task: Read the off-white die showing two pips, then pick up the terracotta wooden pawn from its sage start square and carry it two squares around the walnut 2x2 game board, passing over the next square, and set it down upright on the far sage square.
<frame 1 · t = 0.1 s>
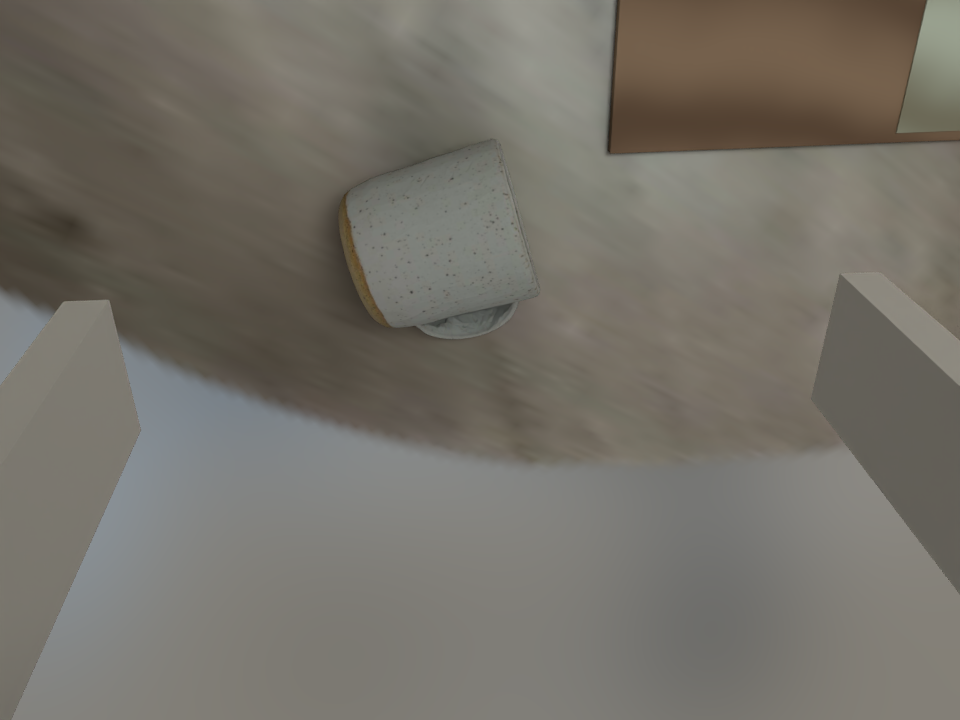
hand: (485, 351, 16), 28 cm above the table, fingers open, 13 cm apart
ceramic mug: (451, 232, 45), on the table
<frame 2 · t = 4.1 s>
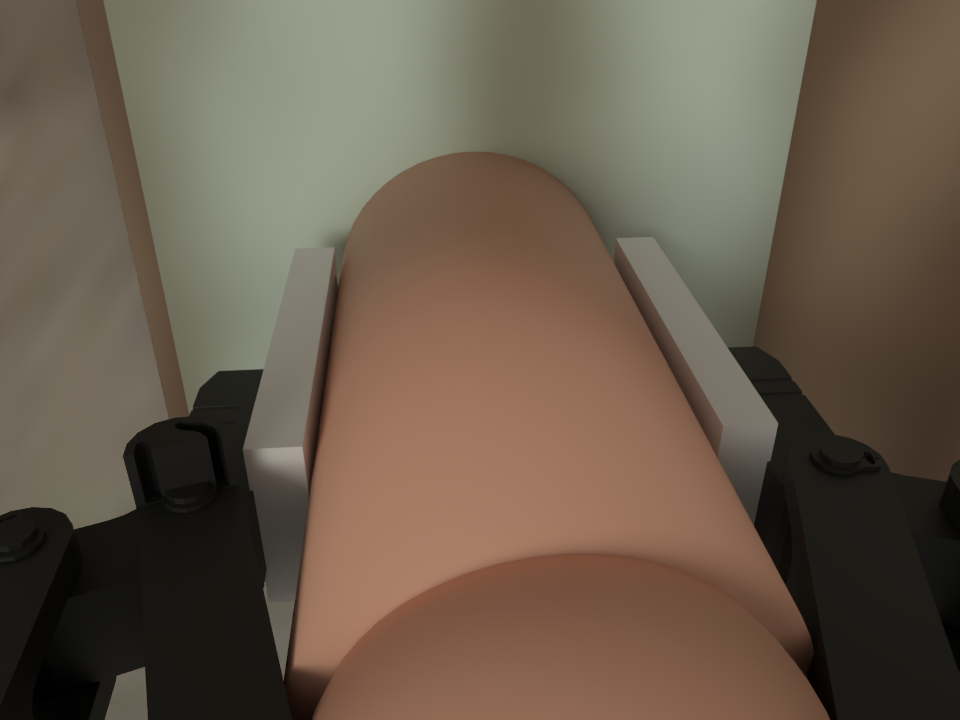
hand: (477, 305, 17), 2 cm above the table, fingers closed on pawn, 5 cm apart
pawn: (472, 279, 18), point 1 cm above the table, touching game board, gripper
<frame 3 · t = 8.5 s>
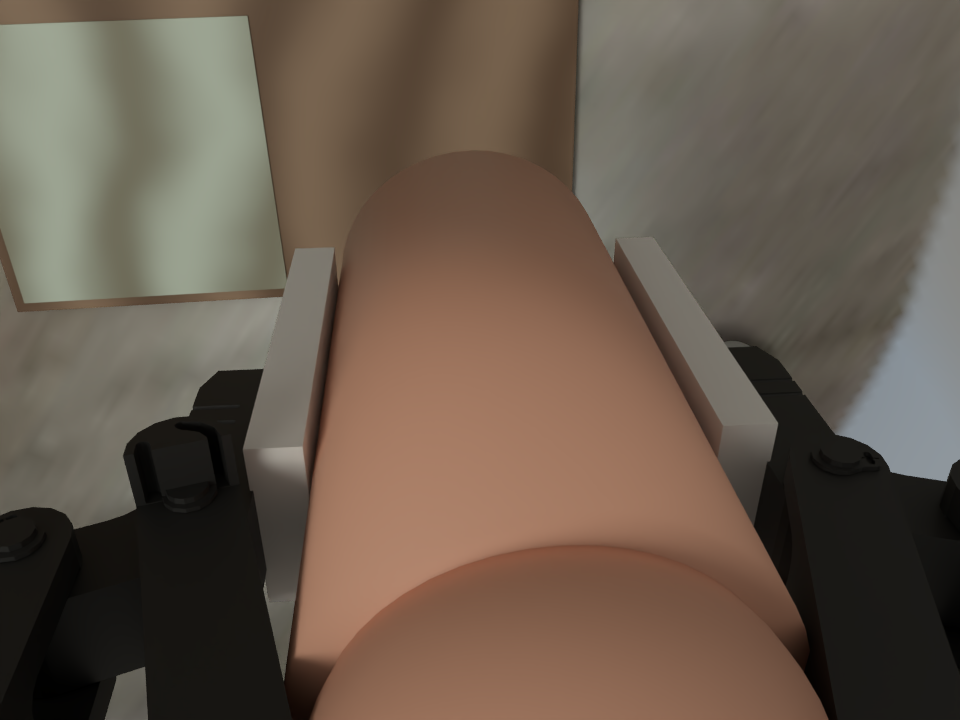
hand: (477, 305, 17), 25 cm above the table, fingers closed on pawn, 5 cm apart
pawn: (472, 277, 19), point 24 cm above the table, touching gripper
game board: (259, 1, 37), on the table
when the fingers open (4 cm above the table, at t = 12.7 s): pawn drops 2 cm, resting on game board.
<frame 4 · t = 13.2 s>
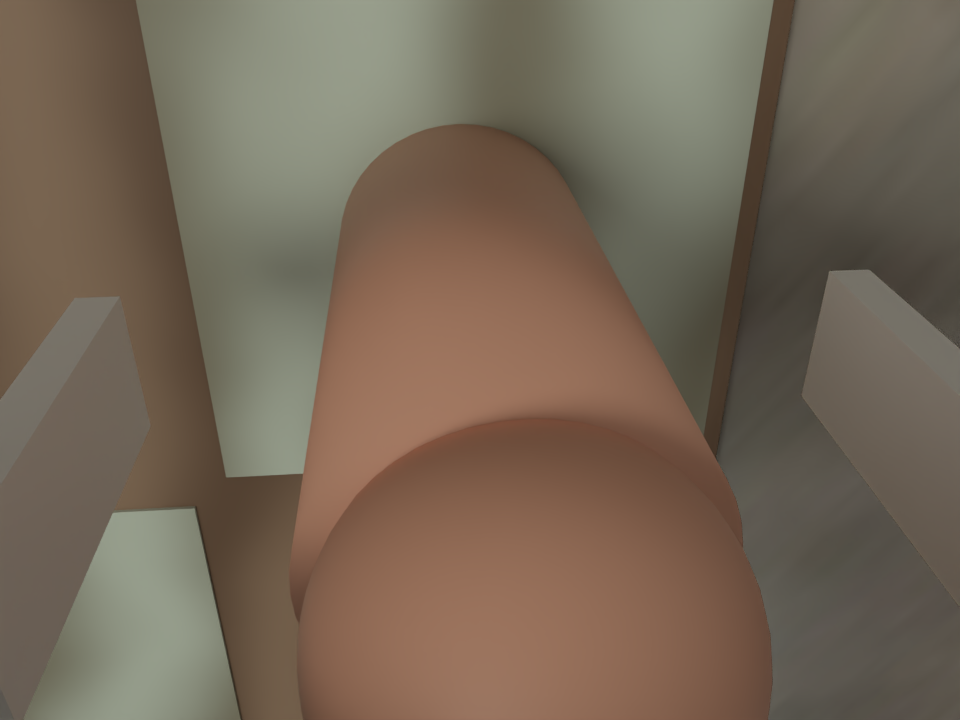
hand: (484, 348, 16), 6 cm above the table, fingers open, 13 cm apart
pawn: (461, 243, 20), point 1 cm above the table, touching game board
game board: (214, 479, 24), on the table
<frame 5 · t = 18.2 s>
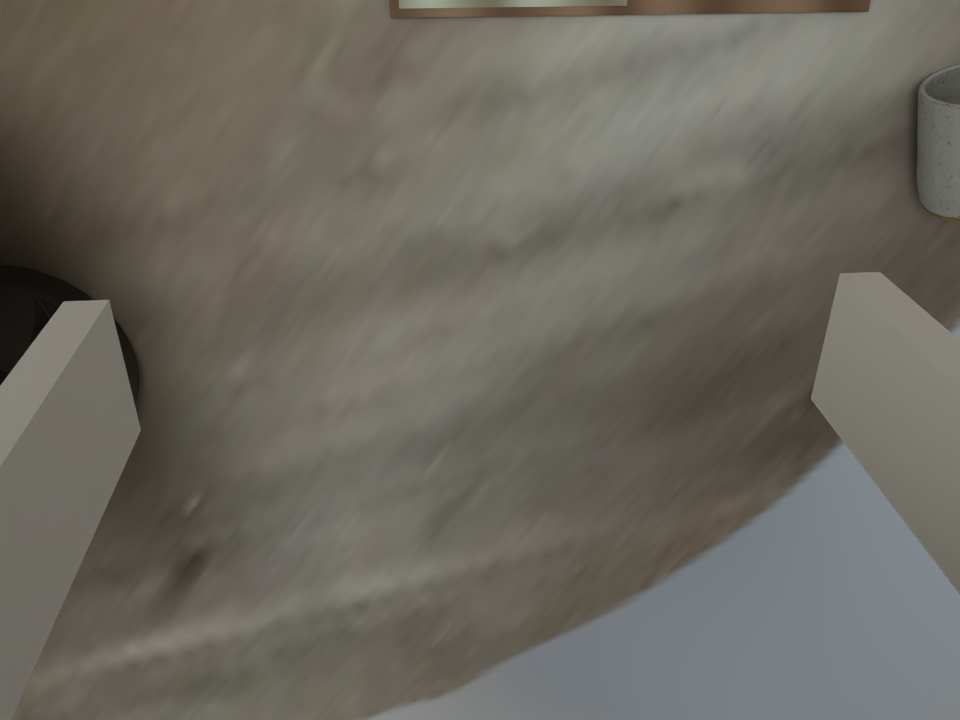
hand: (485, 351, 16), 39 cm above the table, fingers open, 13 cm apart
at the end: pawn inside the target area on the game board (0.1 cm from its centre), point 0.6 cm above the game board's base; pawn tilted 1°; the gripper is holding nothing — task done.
